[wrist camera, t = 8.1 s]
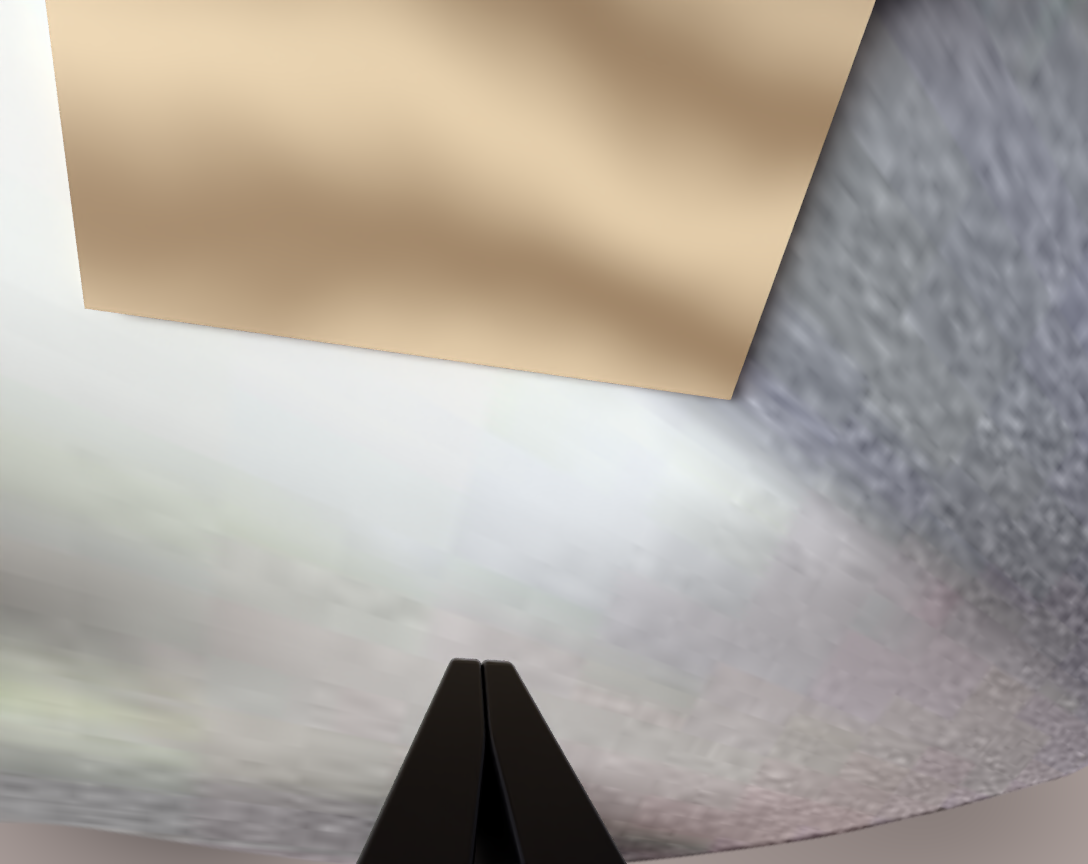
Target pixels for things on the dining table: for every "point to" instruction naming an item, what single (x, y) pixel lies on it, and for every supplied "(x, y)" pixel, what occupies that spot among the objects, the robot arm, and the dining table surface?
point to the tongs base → (452, 171)
